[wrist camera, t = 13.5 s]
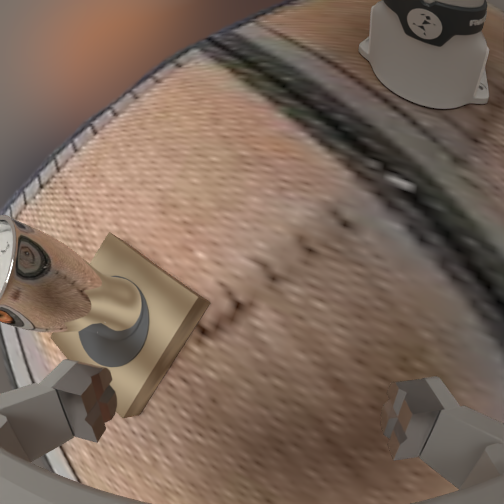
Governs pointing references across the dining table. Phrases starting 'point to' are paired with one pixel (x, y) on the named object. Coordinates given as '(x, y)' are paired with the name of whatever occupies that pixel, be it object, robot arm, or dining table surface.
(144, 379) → the brass stand
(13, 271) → the beer glass
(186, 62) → the dining table surface
